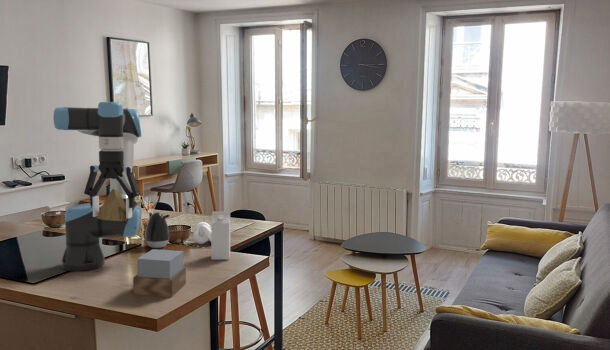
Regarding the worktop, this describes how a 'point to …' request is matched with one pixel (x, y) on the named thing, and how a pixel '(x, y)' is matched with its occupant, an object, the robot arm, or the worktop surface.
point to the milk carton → (220, 236)
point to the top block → (160, 264)
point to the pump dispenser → (157, 231)
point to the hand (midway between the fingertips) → (112, 216)
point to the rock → (113, 208)
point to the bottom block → (159, 285)
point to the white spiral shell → (202, 233)
